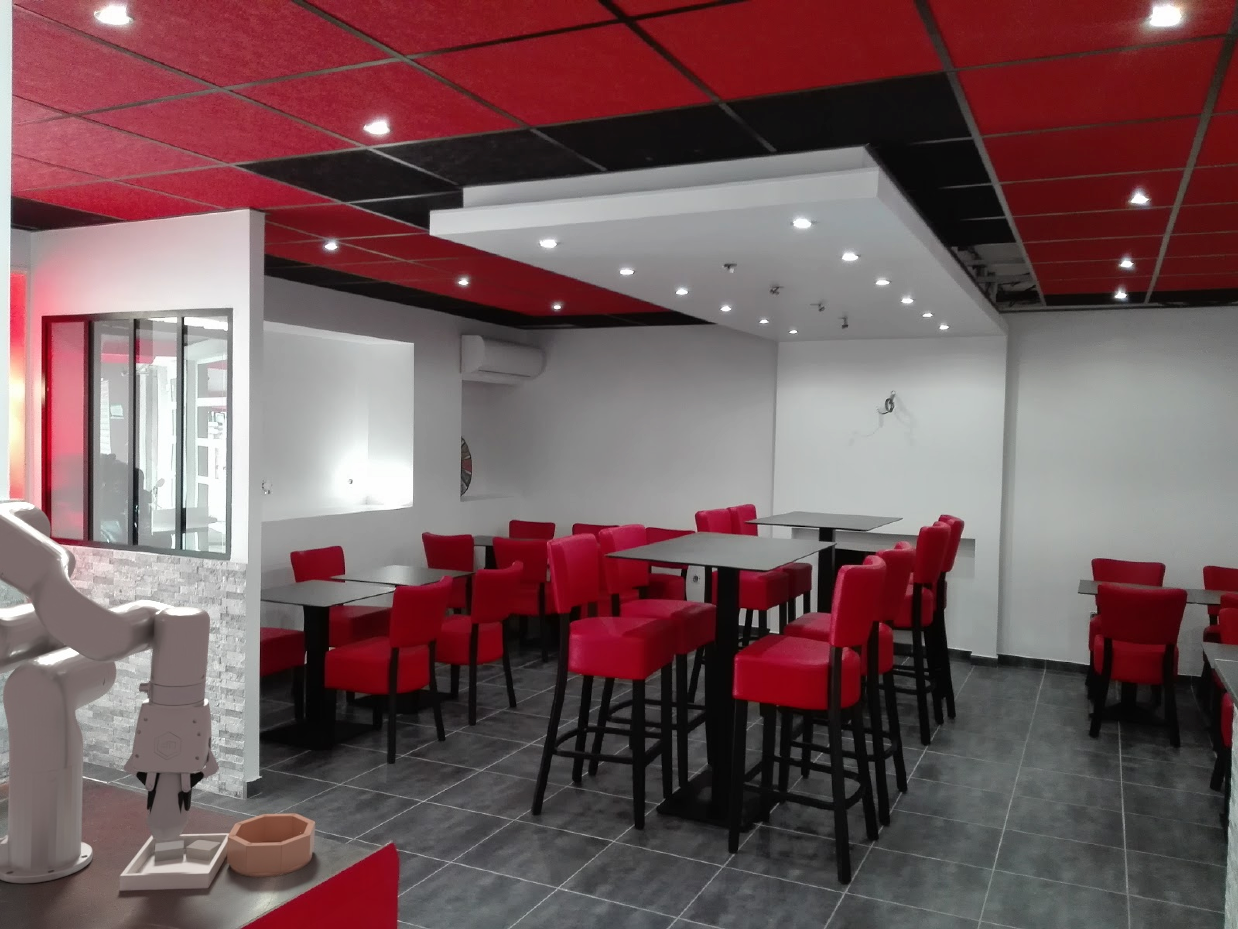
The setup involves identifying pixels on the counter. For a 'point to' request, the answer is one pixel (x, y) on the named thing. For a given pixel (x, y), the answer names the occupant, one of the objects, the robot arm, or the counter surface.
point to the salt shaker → (167, 808)
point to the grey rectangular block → (169, 850)
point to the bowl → (270, 844)
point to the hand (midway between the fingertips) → (168, 813)
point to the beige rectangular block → (202, 850)
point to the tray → (173, 866)
